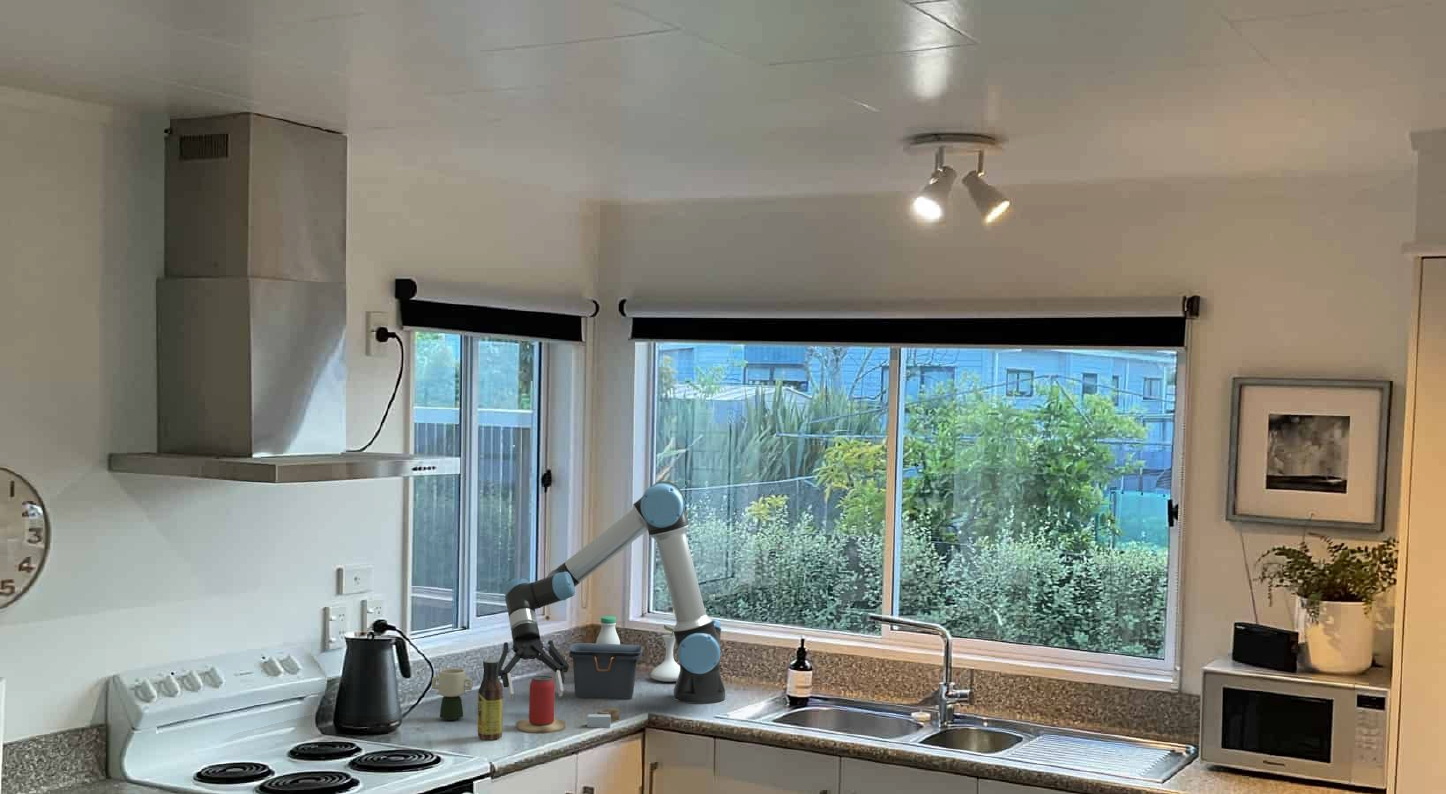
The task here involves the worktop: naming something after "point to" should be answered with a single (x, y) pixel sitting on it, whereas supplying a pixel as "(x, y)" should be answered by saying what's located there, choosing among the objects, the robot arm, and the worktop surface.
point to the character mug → (451, 691)
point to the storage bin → (604, 669)
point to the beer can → (541, 700)
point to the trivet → (540, 726)
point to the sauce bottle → (490, 702)
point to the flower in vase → (667, 661)
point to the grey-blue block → (599, 720)
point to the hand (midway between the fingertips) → (536, 694)
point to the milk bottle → (608, 631)
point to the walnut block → (611, 711)
